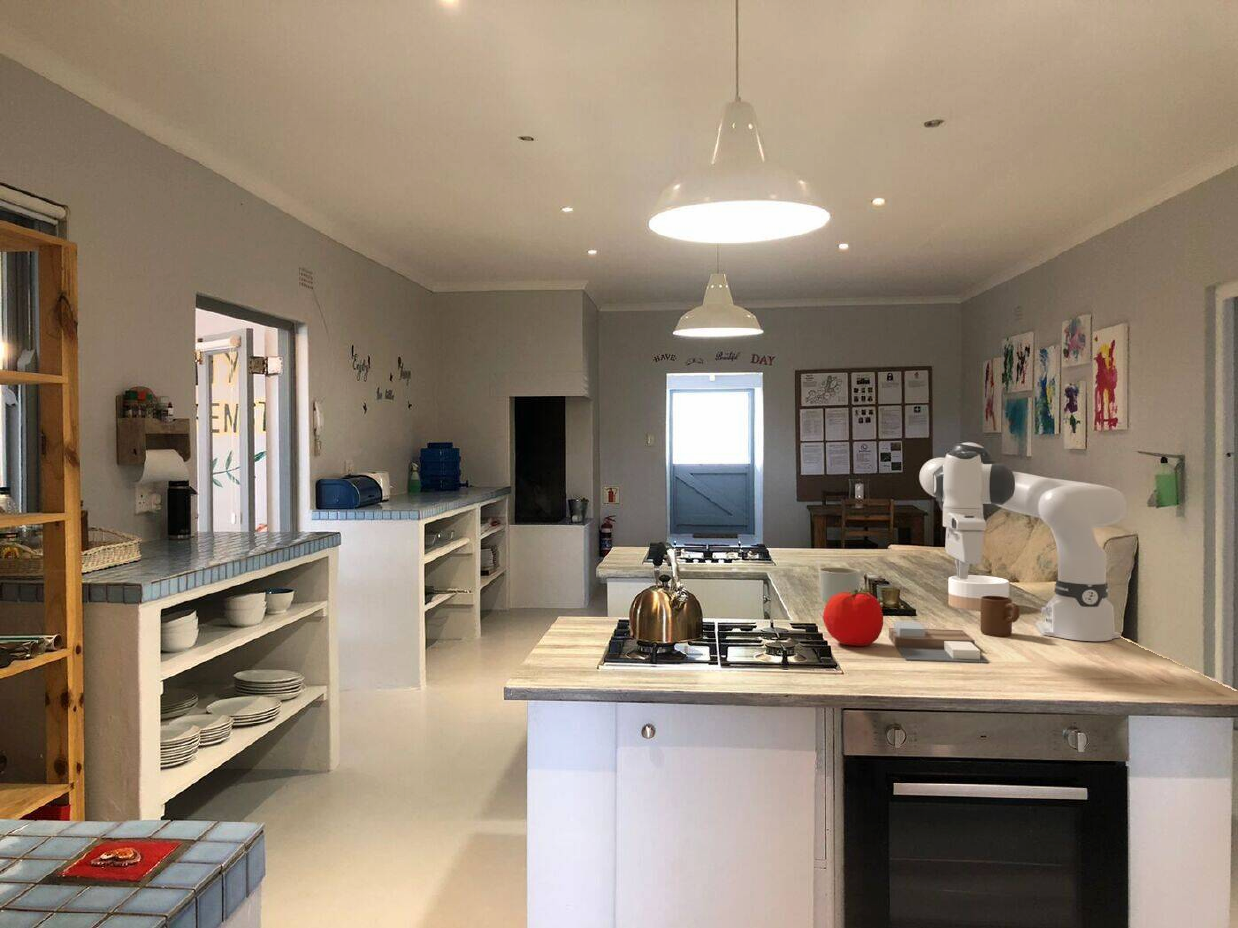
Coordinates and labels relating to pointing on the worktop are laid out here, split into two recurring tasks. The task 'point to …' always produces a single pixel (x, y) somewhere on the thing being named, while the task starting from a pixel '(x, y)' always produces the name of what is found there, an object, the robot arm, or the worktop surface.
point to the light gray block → (909, 629)
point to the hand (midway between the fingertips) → (962, 578)
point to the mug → (998, 615)
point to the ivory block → (961, 650)
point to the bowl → (975, 590)
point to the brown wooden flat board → (929, 638)
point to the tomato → (853, 618)
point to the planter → (838, 581)
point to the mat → (933, 655)
